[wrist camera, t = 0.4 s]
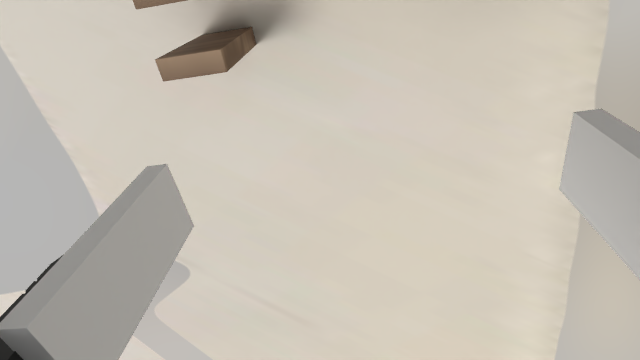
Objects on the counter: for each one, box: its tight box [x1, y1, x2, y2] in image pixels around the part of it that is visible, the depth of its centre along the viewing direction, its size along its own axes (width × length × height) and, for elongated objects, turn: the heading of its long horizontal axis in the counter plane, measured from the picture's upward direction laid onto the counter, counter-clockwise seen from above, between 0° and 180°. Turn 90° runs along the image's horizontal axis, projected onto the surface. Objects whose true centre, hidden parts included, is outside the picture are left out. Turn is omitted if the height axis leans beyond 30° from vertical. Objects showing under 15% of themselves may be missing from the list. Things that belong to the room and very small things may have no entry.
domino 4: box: [155, 27, 256, 81], centre depth 31 cm, size 2×5×10 cm, turn 99°
